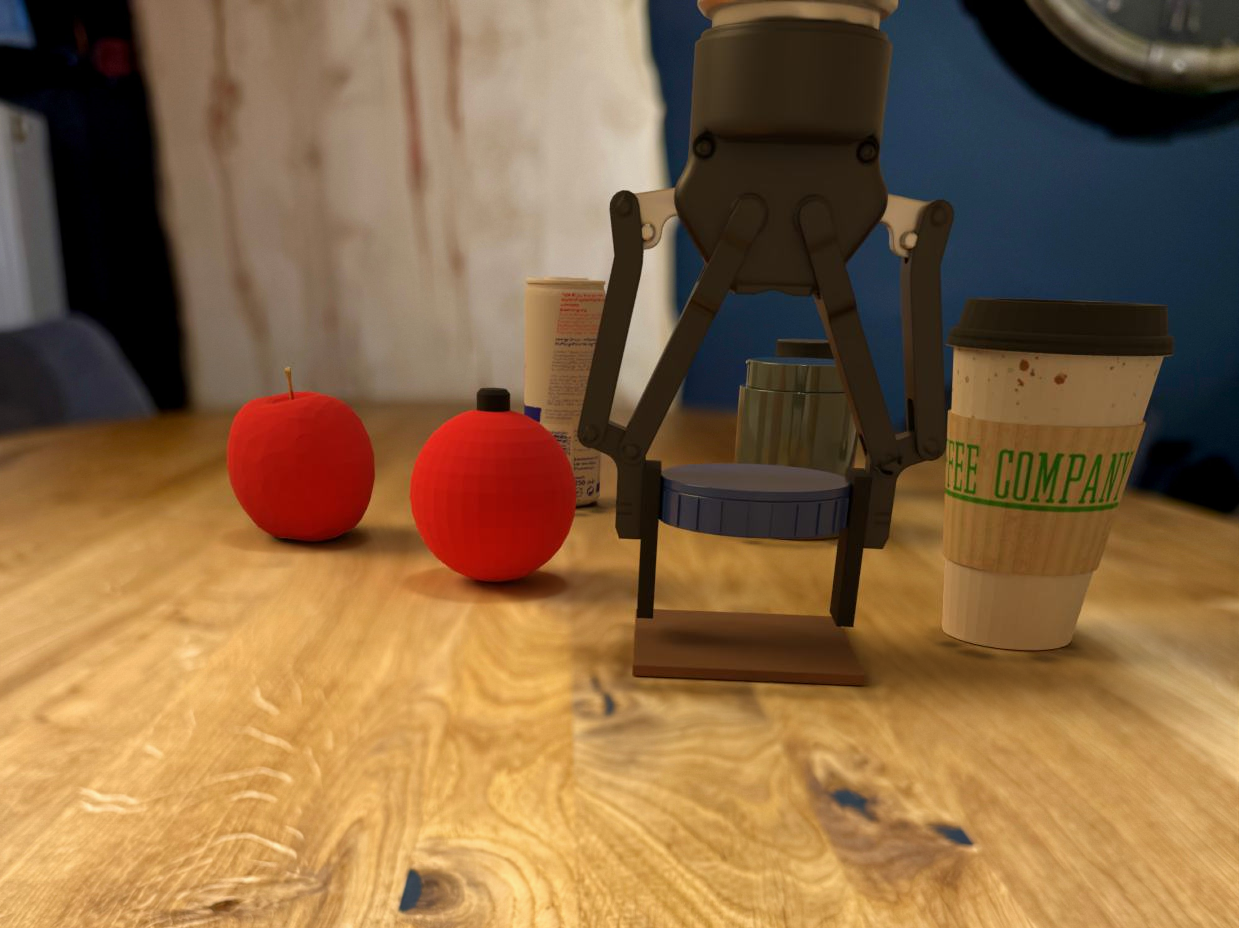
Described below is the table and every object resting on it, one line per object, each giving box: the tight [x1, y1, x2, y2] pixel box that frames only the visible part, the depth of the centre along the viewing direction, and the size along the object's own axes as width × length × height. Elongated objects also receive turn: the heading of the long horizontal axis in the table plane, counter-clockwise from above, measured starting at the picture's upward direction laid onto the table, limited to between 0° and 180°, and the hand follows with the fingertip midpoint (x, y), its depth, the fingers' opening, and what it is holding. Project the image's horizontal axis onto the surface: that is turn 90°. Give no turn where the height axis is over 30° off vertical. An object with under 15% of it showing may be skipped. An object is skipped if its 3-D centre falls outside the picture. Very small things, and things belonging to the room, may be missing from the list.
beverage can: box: [523, 276, 607, 507], centre depth 90 cm, size 6×6×15 cm
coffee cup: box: [941, 297, 1176, 651], centre depth 60 cm, size 10×10×15 cm
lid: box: [659, 462, 852, 540], centre depth 56 cm, size 8×8×2 cm
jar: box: [733, 356, 859, 541], centre depth 84 cm, size 8×8×11 cm
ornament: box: [409, 387, 577, 583], centre depth 68 cm, size 9×9×10 cm
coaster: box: [631, 608, 866, 687], centre depth 59 cm, size 10×10×1 cm
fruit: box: [226, 366, 376, 543], centre depth 78 cm, size 9×9×10 cm
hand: (743, 614), depth 58 cm, fingers closed on lid, 8 cm apart
